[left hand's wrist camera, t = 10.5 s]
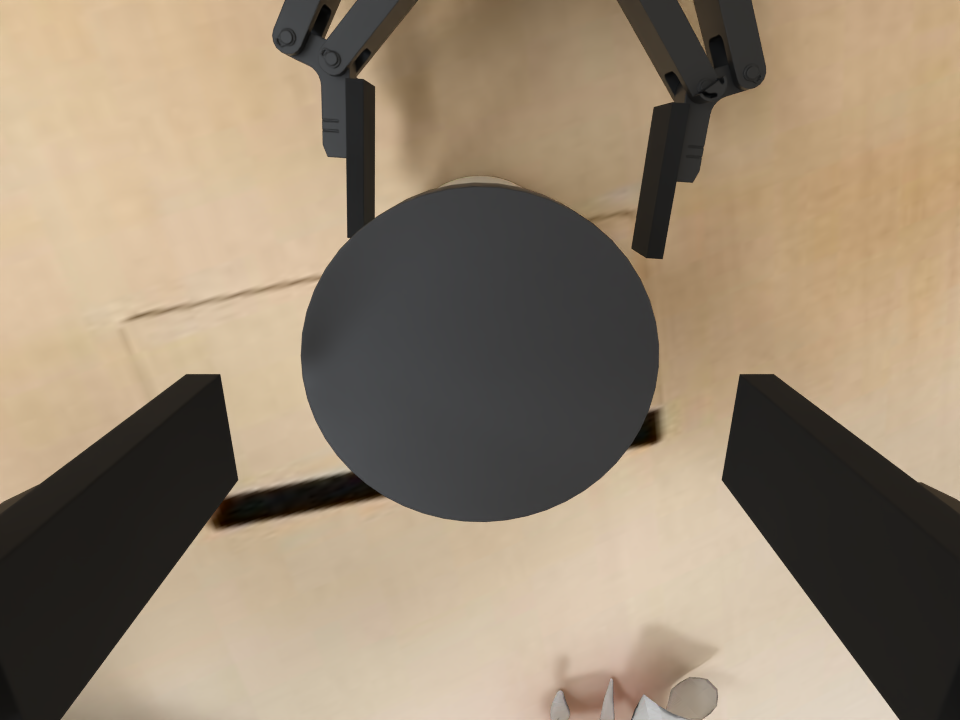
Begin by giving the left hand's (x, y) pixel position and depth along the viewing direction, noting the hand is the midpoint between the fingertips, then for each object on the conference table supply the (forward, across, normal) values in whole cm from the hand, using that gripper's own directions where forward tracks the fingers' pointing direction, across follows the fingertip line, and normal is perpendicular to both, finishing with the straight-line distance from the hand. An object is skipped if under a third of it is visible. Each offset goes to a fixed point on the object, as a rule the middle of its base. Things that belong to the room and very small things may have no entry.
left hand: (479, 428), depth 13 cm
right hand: (+15, +1, +2) cm, 16 cm away
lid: (+4, 0, 0) cm, 4 cm away
